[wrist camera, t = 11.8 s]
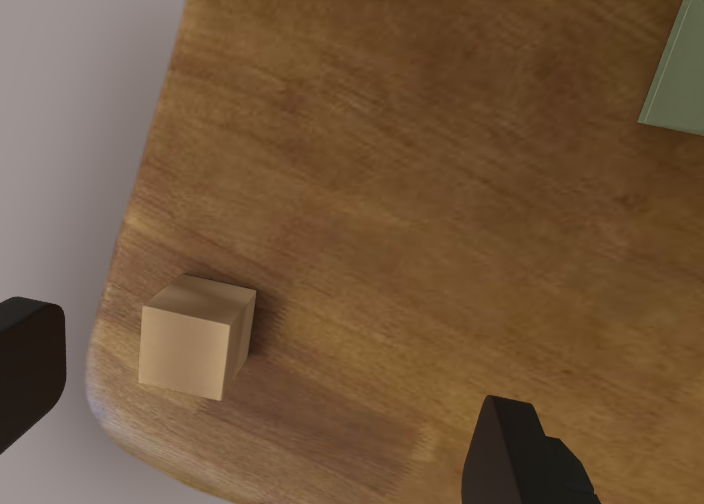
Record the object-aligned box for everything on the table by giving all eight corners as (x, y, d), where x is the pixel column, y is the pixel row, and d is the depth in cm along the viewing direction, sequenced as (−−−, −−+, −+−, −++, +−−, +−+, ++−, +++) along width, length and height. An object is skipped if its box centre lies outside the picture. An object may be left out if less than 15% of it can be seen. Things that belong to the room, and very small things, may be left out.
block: (176, 340, 30) (137, 382, 26) (181, 273, 28) (142, 305, 24) (247, 357, 30) (221, 401, 25) (257, 290, 28) (230, 325, 24)
